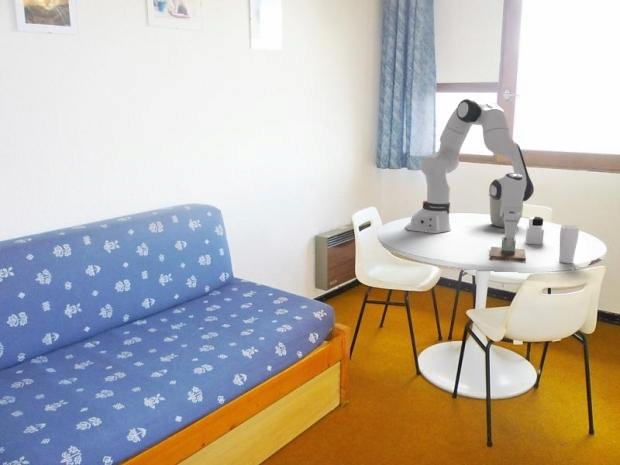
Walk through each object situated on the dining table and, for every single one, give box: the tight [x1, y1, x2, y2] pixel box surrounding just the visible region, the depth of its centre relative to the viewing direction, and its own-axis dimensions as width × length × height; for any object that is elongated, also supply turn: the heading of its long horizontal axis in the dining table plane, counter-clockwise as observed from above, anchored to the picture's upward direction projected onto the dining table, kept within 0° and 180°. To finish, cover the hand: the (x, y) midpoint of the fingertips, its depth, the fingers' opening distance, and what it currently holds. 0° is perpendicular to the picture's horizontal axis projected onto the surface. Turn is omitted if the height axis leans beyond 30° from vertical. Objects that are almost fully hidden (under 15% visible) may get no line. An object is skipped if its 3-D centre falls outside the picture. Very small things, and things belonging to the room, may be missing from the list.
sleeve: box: [501, 236, 517, 255], centre depth 241 cm, size 5×5×6 cm
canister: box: [488, 192, 520, 229], centre depth 291 cm, size 18×18×21 cm
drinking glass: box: [558, 224, 580, 264], centre depth 231 cm, size 7×7×15 cm
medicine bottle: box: [525, 216, 545, 246], centre depth 260 cm, size 7×7×12 cm
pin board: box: [489, 246, 527, 262], centre depth 241 cm, size 14×14×6 cm
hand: (508, 243), depth 240 cm, fingers open, 6 cm apart
